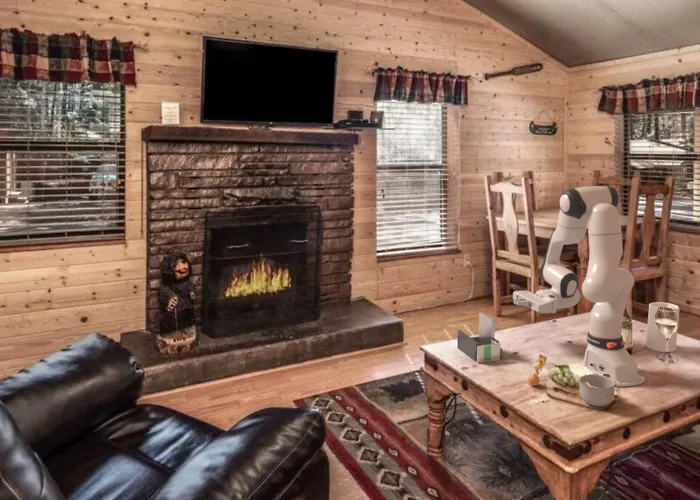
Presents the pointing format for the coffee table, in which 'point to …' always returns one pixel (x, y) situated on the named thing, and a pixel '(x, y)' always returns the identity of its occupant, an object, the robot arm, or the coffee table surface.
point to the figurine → (534, 378)
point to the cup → (654, 336)
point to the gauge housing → (478, 349)
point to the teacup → (597, 389)
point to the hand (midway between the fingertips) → (515, 302)
